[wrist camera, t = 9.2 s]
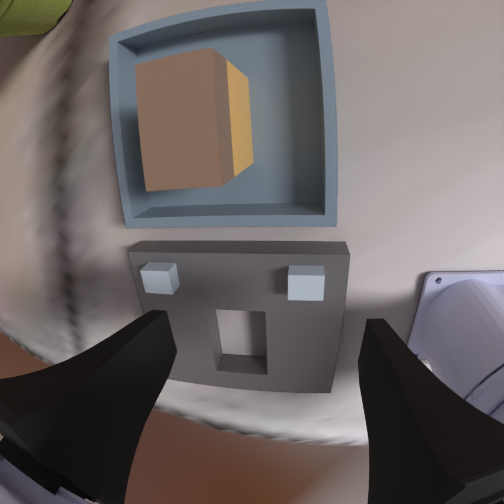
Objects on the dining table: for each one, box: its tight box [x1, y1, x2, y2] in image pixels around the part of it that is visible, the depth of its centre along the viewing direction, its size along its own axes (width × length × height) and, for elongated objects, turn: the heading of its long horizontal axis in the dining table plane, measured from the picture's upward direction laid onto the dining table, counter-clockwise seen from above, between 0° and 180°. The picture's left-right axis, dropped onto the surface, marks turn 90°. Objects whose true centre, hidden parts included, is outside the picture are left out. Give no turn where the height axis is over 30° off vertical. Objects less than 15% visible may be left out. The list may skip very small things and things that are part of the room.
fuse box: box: [128, 241, 350, 393], centre depth 20 cm, size 14×12×3 cm
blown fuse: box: [135, 48, 253, 192], centre depth 12 cm, size 3×5×7 cm, turn 3°
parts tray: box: [109, 0, 338, 228], centre depth 15 cm, size 12×12×3 cm
